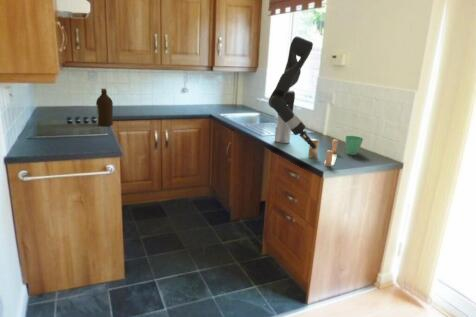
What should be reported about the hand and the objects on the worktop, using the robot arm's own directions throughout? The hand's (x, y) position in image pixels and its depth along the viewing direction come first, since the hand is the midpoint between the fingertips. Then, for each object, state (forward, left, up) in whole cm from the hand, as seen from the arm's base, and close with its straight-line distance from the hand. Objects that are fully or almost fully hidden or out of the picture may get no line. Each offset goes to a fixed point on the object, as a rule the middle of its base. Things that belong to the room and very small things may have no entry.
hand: (313, 145), depth 202 cm
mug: (+20, +23, -7) cm, 32 cm away
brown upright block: (0, 0, -7) cm, 7 cm away
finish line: (+10, +2, -7) cm, 12 cm away
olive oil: (-145, +3, -7) cm, 145 cm away
